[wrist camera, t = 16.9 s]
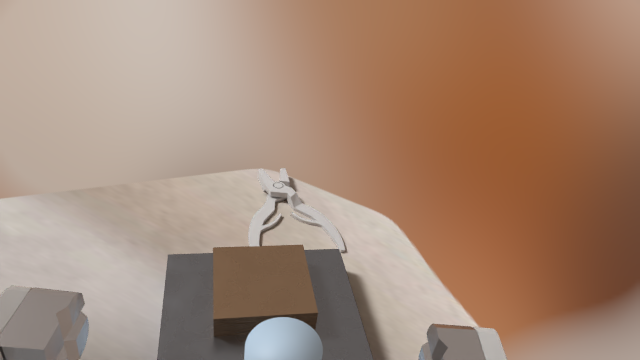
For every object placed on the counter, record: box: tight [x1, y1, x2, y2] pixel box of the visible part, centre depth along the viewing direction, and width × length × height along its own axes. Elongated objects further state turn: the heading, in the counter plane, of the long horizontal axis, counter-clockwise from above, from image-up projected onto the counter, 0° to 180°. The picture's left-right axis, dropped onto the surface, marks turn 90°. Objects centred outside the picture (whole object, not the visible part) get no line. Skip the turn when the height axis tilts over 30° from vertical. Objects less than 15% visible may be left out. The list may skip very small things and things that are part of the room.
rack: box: [157, 245, 373, 360], centre depth 38 cm, size 16×23×4 cm
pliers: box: [248, 168, 345, 253], centre depth 56 cm, size 10×2×15 cm
